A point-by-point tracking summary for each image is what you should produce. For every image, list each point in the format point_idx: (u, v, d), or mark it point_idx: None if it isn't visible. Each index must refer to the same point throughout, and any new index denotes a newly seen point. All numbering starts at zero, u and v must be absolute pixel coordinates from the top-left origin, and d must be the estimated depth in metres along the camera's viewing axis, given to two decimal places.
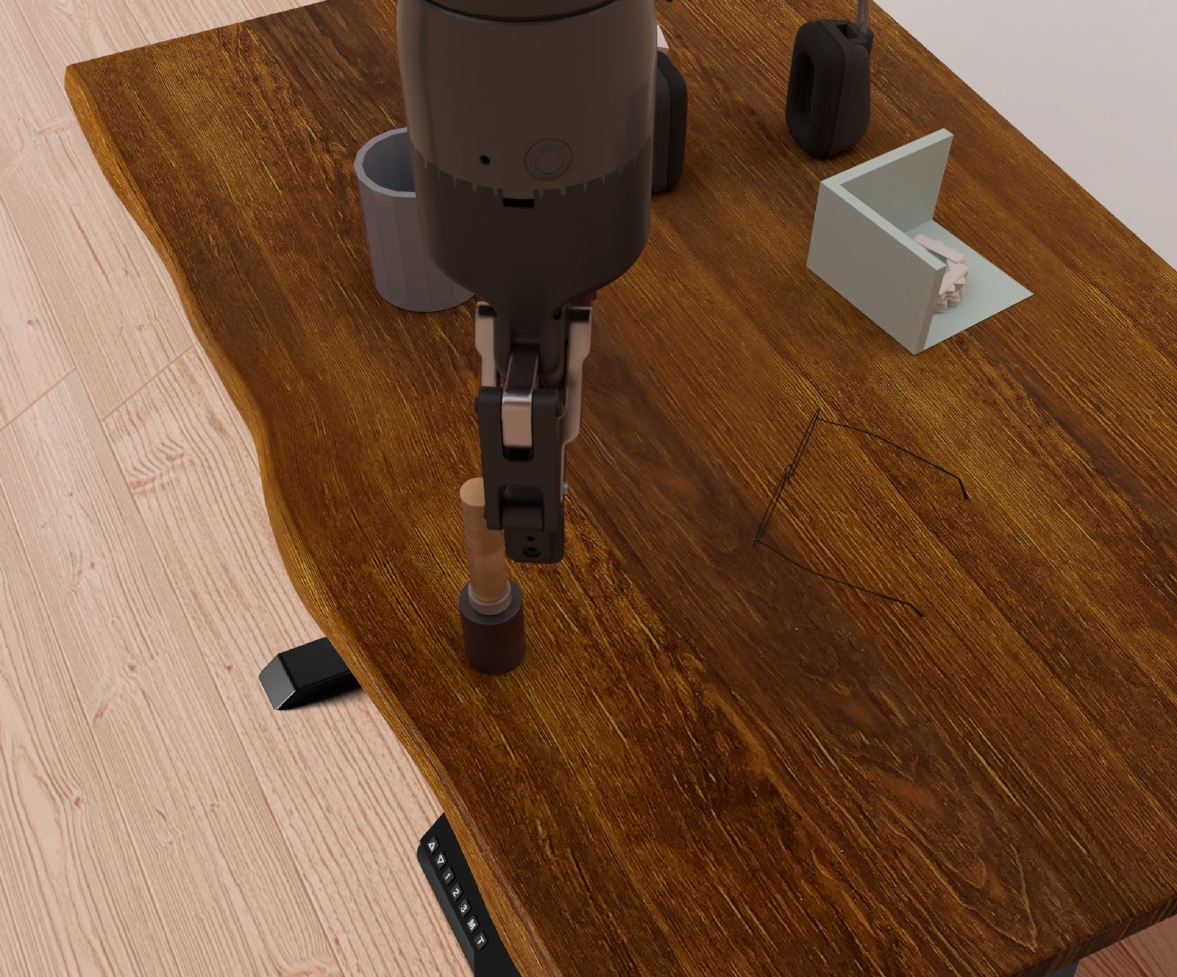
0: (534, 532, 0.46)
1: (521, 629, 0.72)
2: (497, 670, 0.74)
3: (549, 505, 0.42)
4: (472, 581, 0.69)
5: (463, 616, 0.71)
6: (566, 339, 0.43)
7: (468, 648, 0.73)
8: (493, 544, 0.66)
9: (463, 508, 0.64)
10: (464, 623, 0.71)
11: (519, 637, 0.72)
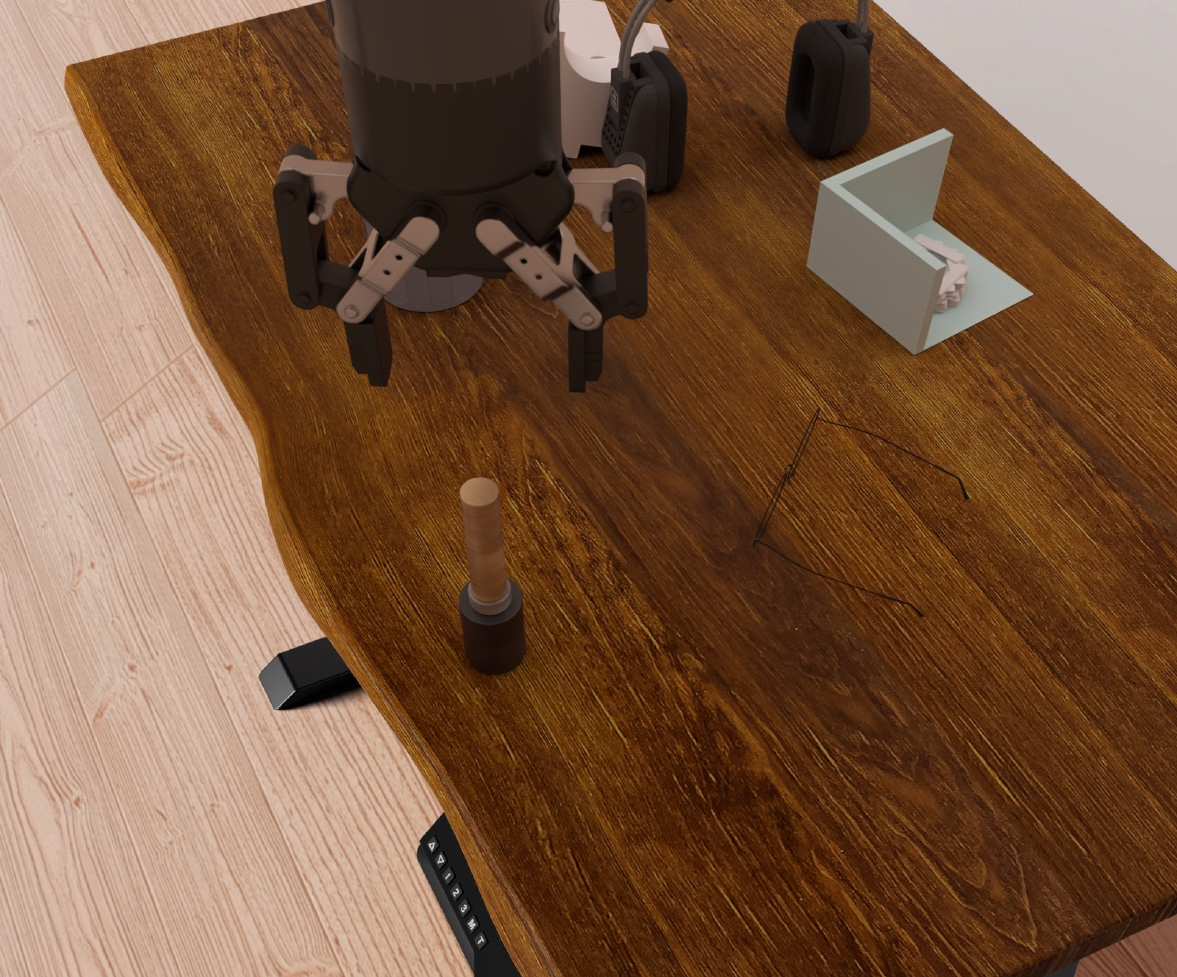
0: None
1: (521, 629, 0.72)
2: (497, 670, 0.74)
3: (286, 270, 0.50)
4: (472, 581, 0.69)
5: (463, 616, 0.71)
6: (406, 218, 0.47)
7: (468, 648, 0.73)
8: (493, 544, 0.66)
9: (463, 508, 0.64)
10: (464, 623, 0.71)
11: (519, 637, 0.72)
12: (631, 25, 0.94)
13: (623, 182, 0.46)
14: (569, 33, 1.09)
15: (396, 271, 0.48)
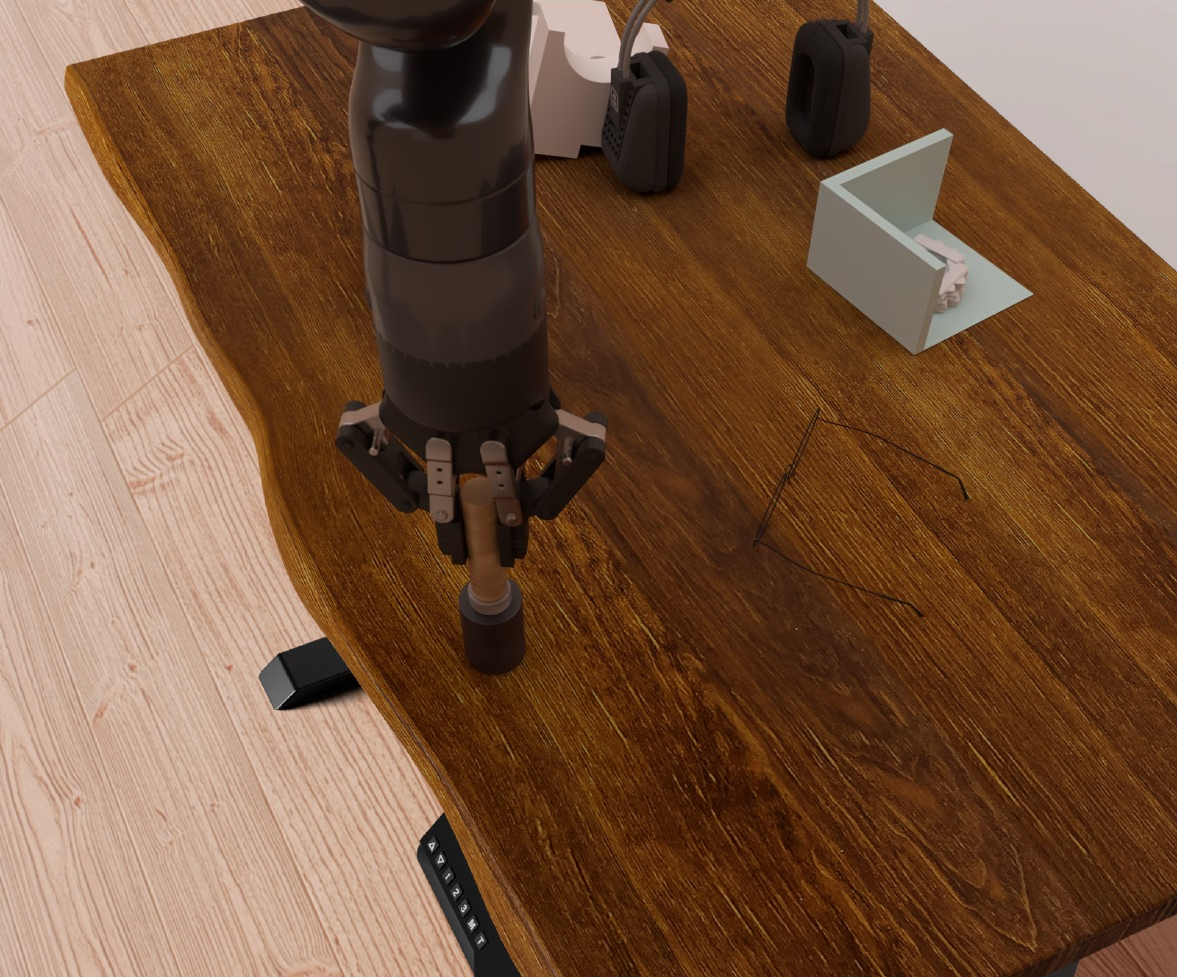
0: None
1: (521, 629, 0.72)
2: (497, 670, 0.74)
3: (383, 491, 0.63)
4: (472, 581, 0.69)
5: (463, 616, 0.71)
6: (425, 435, 0.59)
7: (468, 648, 0.73)
8: (493, 544, 0.66)
9: (463, 508, 0.64)
10: (464, 623, 0.71)
11: (519, 637, 0.72)
12: (631, 25, 0.94)
13: (595, 439, 0.60)
14: (569, 33, 1.09)
15: (445, 479, 0.61)
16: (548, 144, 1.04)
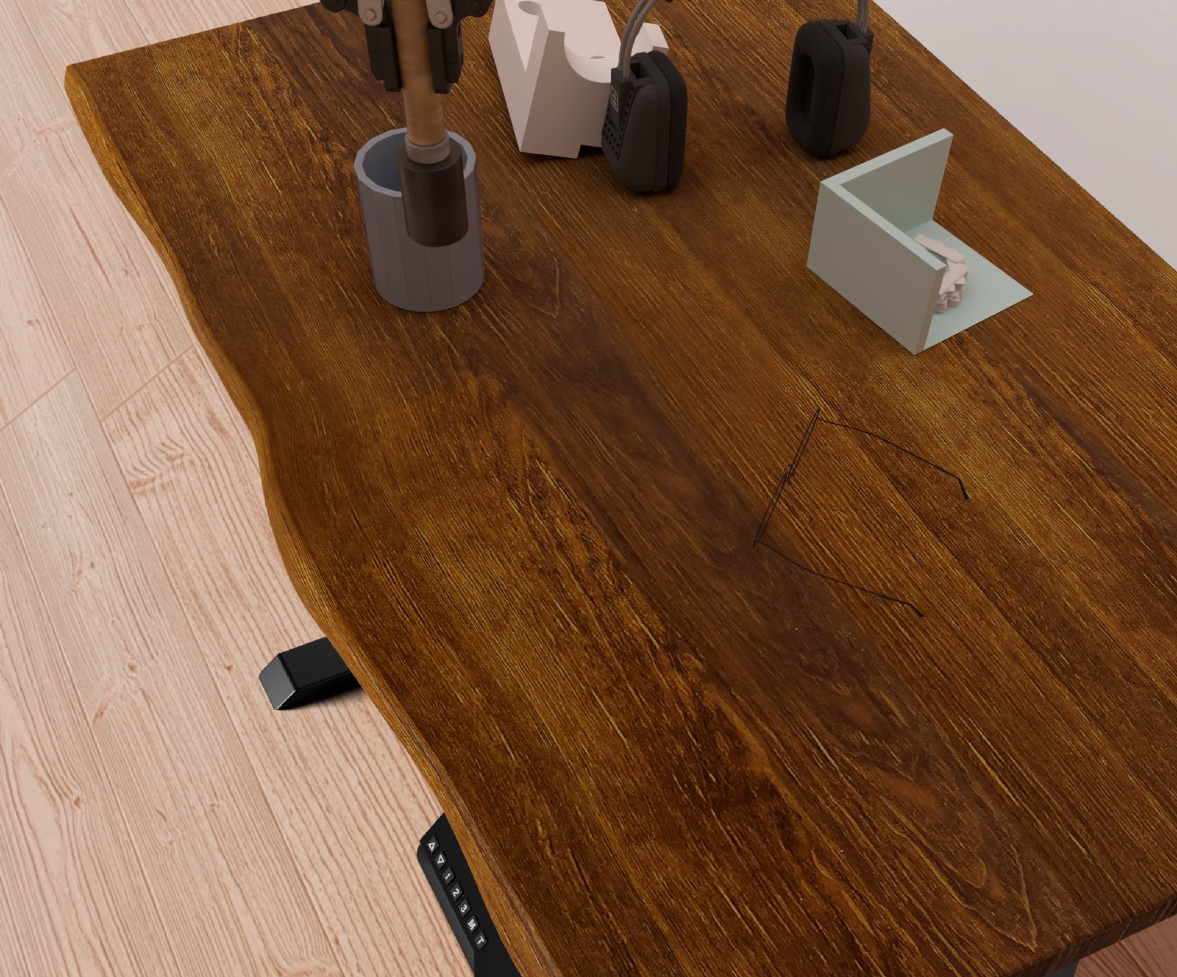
0: None
1: (461, 191, 0.71)
2: (437, 241, 0.72)
3: None
4: (407, 119, 0.67)
5: (400, 167, 0.69)
6: None
7: (407, 214, 0.72)
8: (426, 61, 0.64)
9: (393, 10, 0.63)
10: (401, 178, 0.70)
11: (459, 200, 0.71)
12: (631, 25, 0.94)
13: None
14: (569, 33, 1.09)
15: None
16: (548, 144, 1.04)
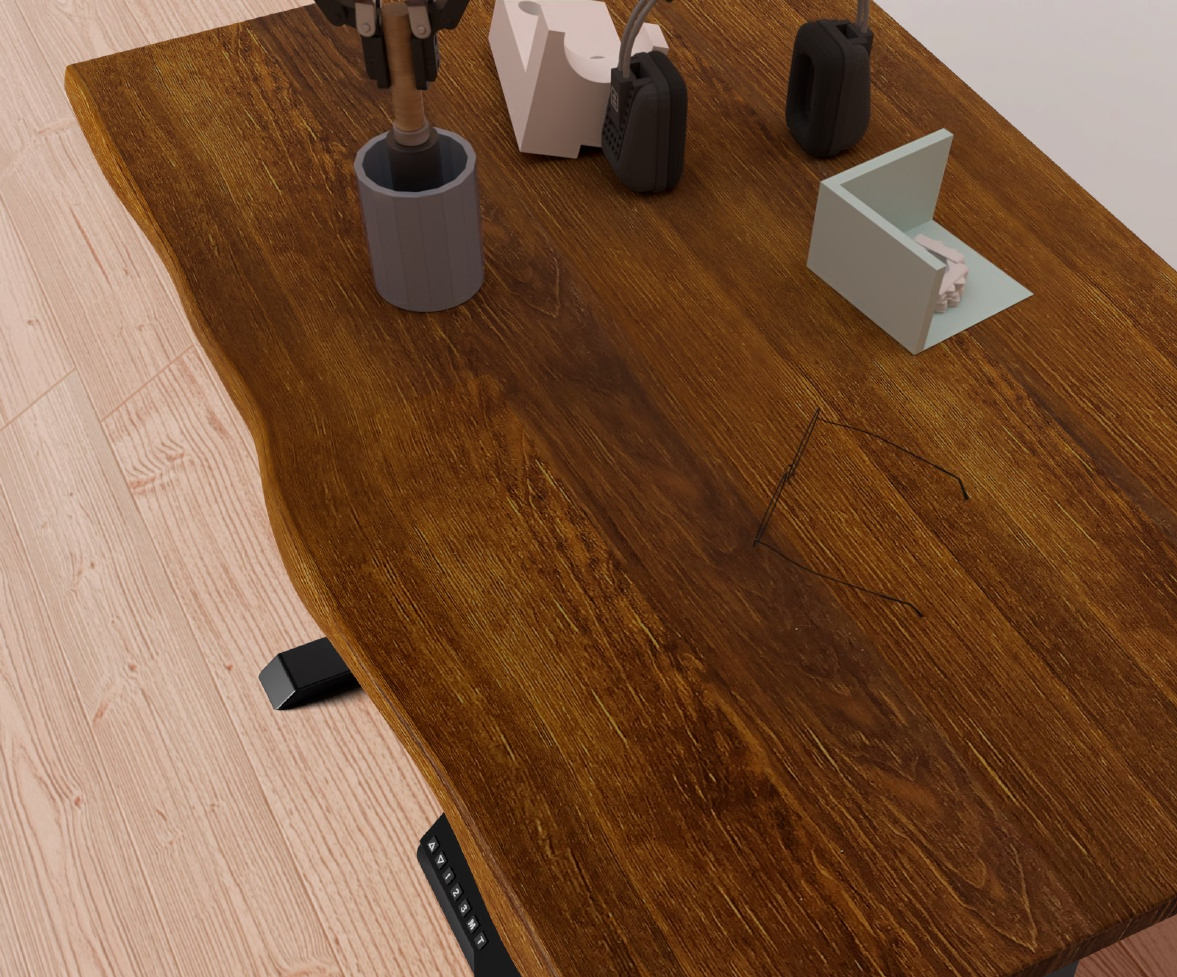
0: None
1: (438, 168, 0.88)
2: None
3: (318, 4, 0.79)
4: (395, 110, 0.85)
5: (389, 149, 0.86)
6: None
7: (395, 187, 0.89)
8: (409, 64, 0.82)
9: (383, 23, 0.80)
10: (390, 157, 0.87)
11: (437, 175, 0.88)
12: (631, 25, 0.94)
13: None
14: (569, 34, 1.09)
15: None
16: (548, 144, 1.04)
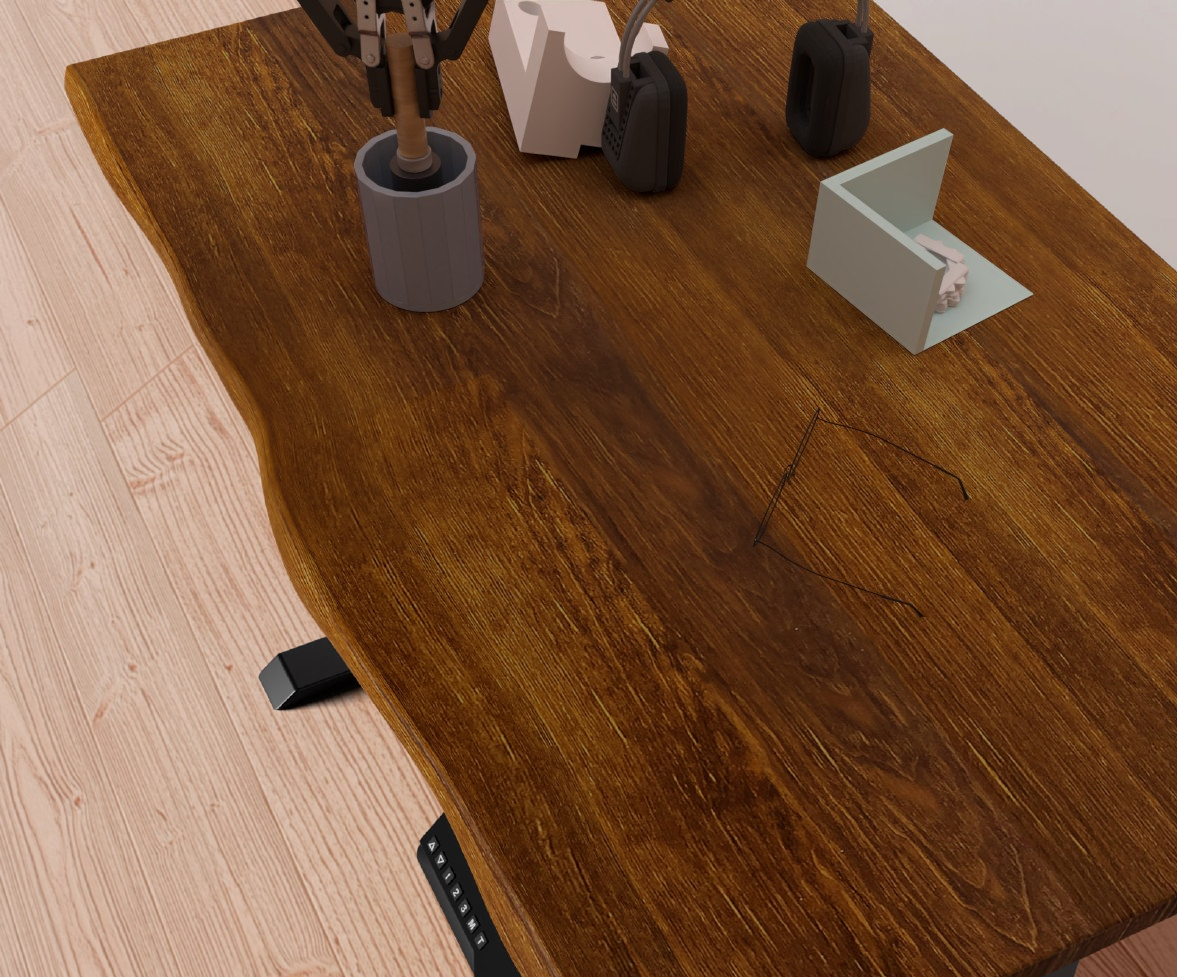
0: None
1: None
2: None
3: (324, 35, 0.80)
4: (399, 138, 0.86)
5: (393, 175, 0.88)
6: None
7: None
8: (413, 93, 0.83)
9: (387, 54, 0.81)
10: (394, 183, 0.89)
11: None
12: (631, 25, 0.94)
13: None
14: (569, 34, 1.09)
15: (370, 13, 0.78)
16: (548, 144, 1.04)
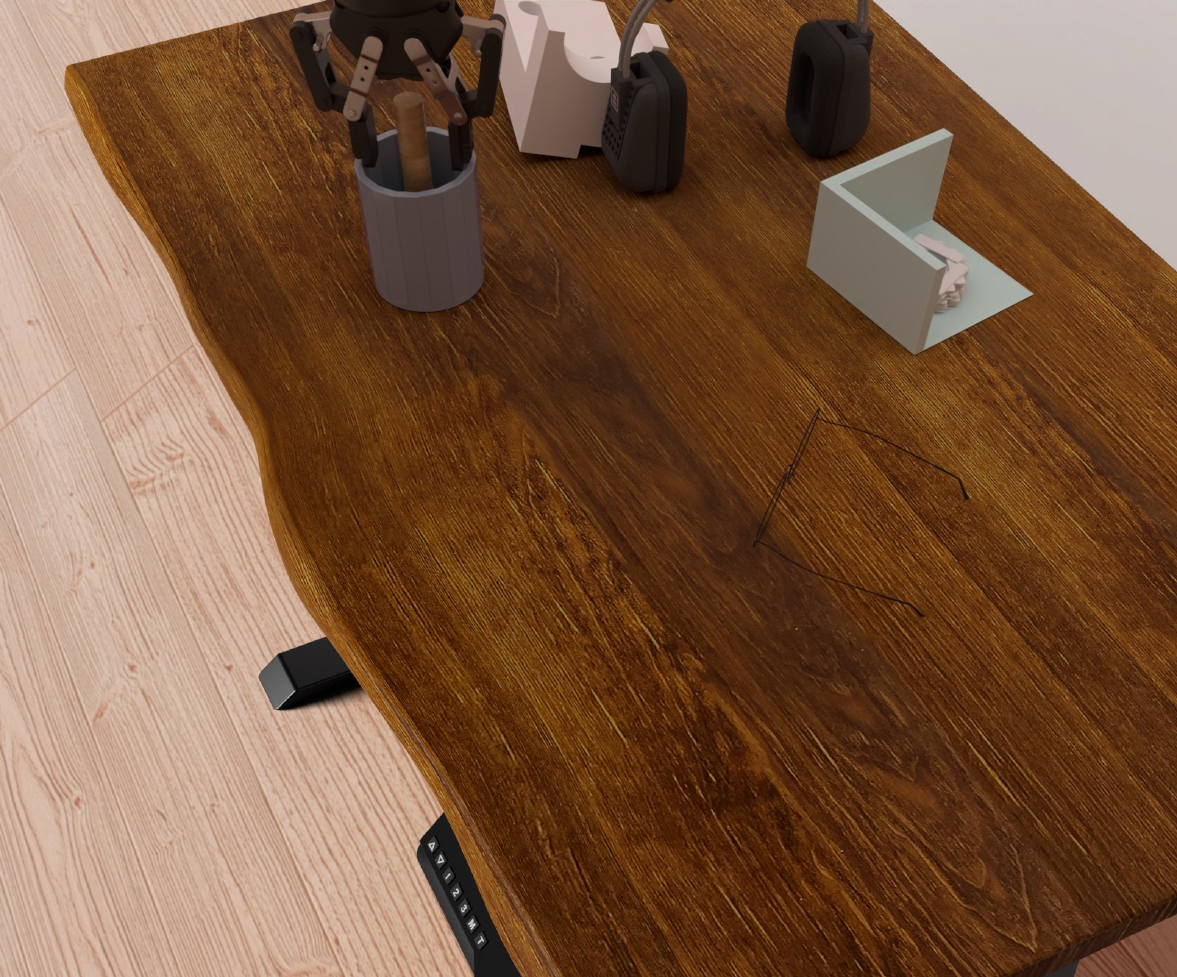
0: None
1: None
2: None
3: (310, 87, 0.83)
4: (406, 190, 0.90)
5: None
6: (364, 39, 0.80)
7: None
8: (420, 149, 0.87)
9: (396, 113, 0.85)
10: None
11: None
12: (631, 25, 0.94)
13: (492, 28, 0.80)
14: (569, 34, 1.09)
15: (367, 77, 0.82)
16: (548, 144, 1.04)
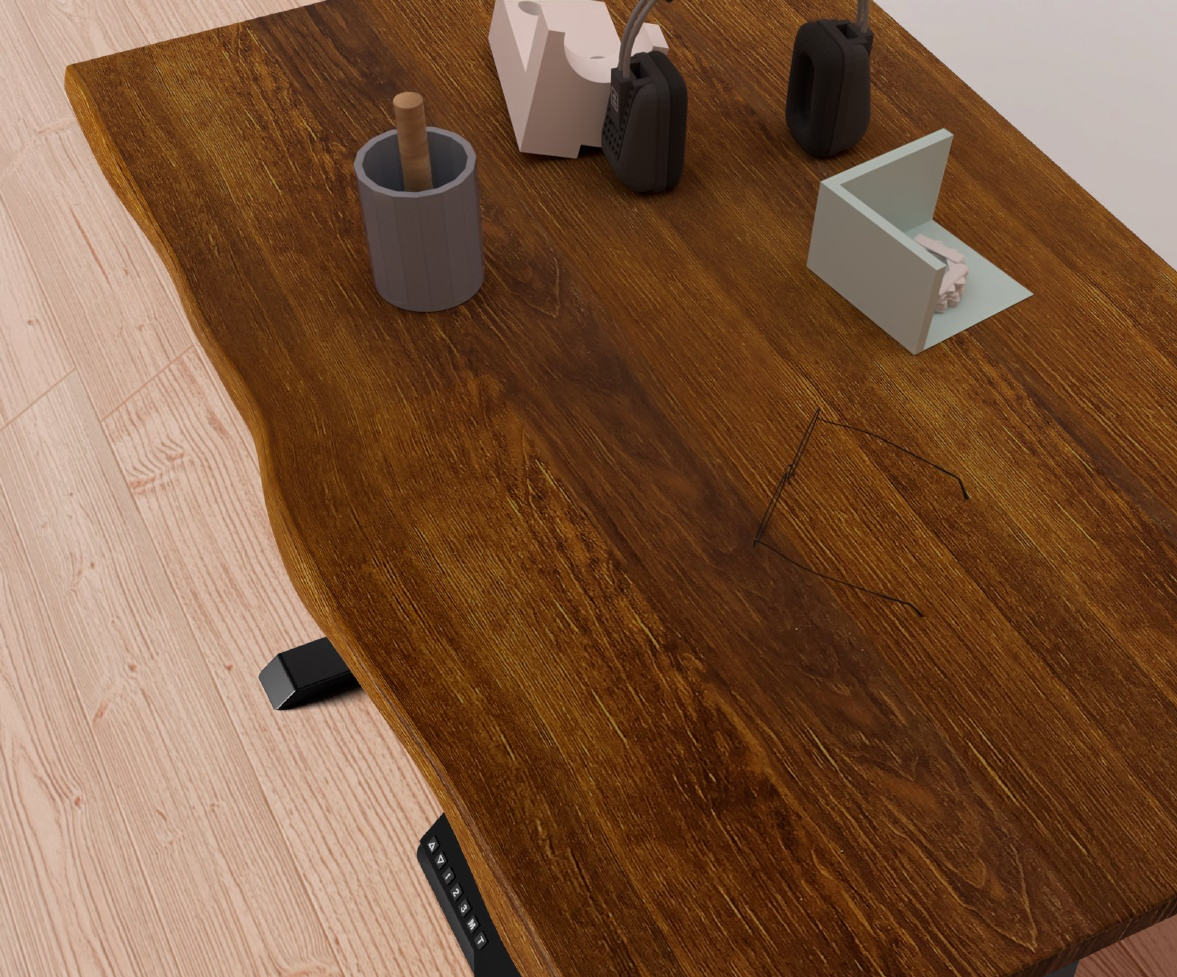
0: None
1: None
2: None
3: None
4: (406, 190, 0.90)
5: None
6: None
7: None
8: (420, 149, 0.87)
9: (396, 113, 0.85)
10: None
11: None
12: (631, 25, 0.94)
13: None
14: (569, 34, 1.09)
15: None
16: (548, 144, 1.04)
